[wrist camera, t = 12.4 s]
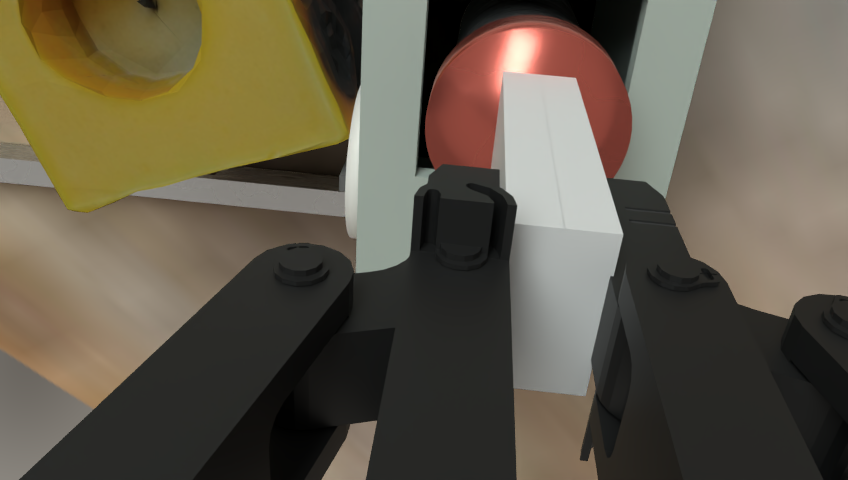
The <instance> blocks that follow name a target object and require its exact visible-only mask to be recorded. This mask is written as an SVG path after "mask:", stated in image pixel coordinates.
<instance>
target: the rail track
mask: <svg viewBox="0 0 848 480" xmlns="http://www.w3.org/2000/svg"><path fill="white" fill-rule="evenodd" d="M0 182H3V183H13V184H23V185H33V186H43V187H53V188H55V187H54V186H53V184H52V182H51V180H50V179H49V177H48V175H47V173H46V172H45V170H44V168H43V167H42V165H41V163H40V161H39V160H38V158H37V156H36V154H35V153H34V151H33V149H32V147H31V146H27V145H17V144H7V143H0ZM131 195H132V196H142V197H152V198H162V199H172V200H182V201H192V202H202V203H211V204H221V205H231V206H241V207H251V208H261V209H271V210H281V211H291V212H301V213H311V214H321V215H331V216H340V217H345V191H339V176H331V175H321V174H311V173H301V172H291V171H281V170H270V169H260V168H250V167H240V166H238V167H233V168H229V169H225V170H221V171H219V172H218V173H217V174H215V175H207V174H206V175H202V176H198V177H194V178H191V179H187V180H184V181H180V182H177V183H174V184H171V185H167V186H164V187H159V188H153V189H148V190H142V191H137V192H135V193H133V194H131Z"/></svg>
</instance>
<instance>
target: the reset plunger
mask: <svg viewBox="0 0 848 480" xmlns="http://www.w3.org/2000/svg"><path fill="white" fill-rule="evenodd" d="M503 71H507V72H518V73H528V74H539V75H550V76H561V77H571V78H576V80H577V83H578V86H579V90H580V93H581V96H582V100H583V103H584V106H585V109H586V113H587V116H588V119H589V123H590V126H591V129H592V133H593V136H594V139H595V142H596V146H597V149H598V152H599V156H600V159H601V162H602V166H603V169H604V172H605V175H606V178H614V177H615V175H616V173H617V172H618V170H619V169H620V167H621V165H622V163H623V161H624V159H625V156H626V154H627V151H628V147H629V144H630V139H631V133H632V111H631V104H630V100H629V97H628V93H627V90H626V88H625V86H624V83H623V81H622V79H621V77H620V75H619V73H618V71H617V69H616V67H615V64H614V62H613V61H612V59H611V58H610V56H609V55H608V53H607V51H606V50H605V49H604V48H603V47H602V46H601V45H600V43H599V42H598V41H597V40H595V39H594V38H593V37H592V36H591V35H590V34H588V33H587V32H585V31H584V30H582V29H581V28H580V27H579V24H578V22H577V19H576V17H575V14H574V12H573V10H572V8H571V5H570V3H569V2H568V0H471V1H470V3H469V4H468V6H467V8H466V10H465V12H464V14H463V17H462V20H461V24H460V30H459V35H458V41H457V45H456V46H455V47H454V49H453V50H452V51H451V52H450V54H449V55H448V56H447V57H446V59H445V60H444V62H443V64H442V65H441V67H440V69H439V71H438V73H437V76H436V78H435V80H434V84H433V87H432V91H431V95H430V99H429V103H428V108H427V113H426V120H425V137H426V145H427V149H428V153H429V157H430V160H431V162H432V164H433V167H434V169H435V170H436V169H437V168H439V167H440V166H441V165H442V164H448V165H459V166H469V167H479V168H489V169H491V164H492V156H493V148H494V140H495V132H496V124H497V116H498V108H499V100H500V91H501V83H502V75H503Z"/></svg>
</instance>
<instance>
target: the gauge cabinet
mask: <svg viewBox="0 0 848 480" xmlns="http://www.w3.org/2000/svg"><path fill="white" fill-rule="evenodd" d="M716 2H717V0H597V1H596V7H595V12H594V18H593V23H592V29H591V34H590V35H591V36H592V37H593V38H594V39H595V40H597V41H598V42H599V43H600V45H601V46H602V47H603V48H604V49H605V50H606V51H607V53H608V55H609V56H610V58H611V59H612V61H613V62H614V64H615V67H616V69H617V71H618V73H619V75H620V77H621V79H622V81H623V83H624V86H625V88H626V90H627V93H628V97H629V100H630V104H631V111H632V133H631V139H630V144H629V147H628V151H627V154H626V156H625V159H624V161H623V163H622V165H621V167H620V169H619V170H618V172H617V173H616V175H615V177H614V178H613V179H623V180H634V181H644V182H647V183H648V184H649V185H650V186H652V187H653V188H654V189H655V190H657V191H658V192H659V193H660V194H662V195H663V196H664V198H666V194H667V190H668V187H669V183H670V179H671V175H672V171H673V167H674V163H675V160H676V156H677V152H678V148H679V144H680V140H681V137H682V133H683V129H684V125H685V121H686V117H687V113H688V110H689V106H690V102H691V98H692V94H693V90H694V87H695V83H696V79H697V75H698V71H699V67H700V63H701V60H702V56H703V52H704V48H705V44H706V40H707V37H708V33H709V29H710V25H711V21H712V17H713V13H714V10H715V6H716ZM428 11H429V0H363V17H362V55H361V85H360V88H359V90H358V93H357V97H356V101H355V105H354V110H353V116H352V122H351V128H350V135H349V144H348V153H347V159H346V162H345V164H344V166H343V168H342V171H341V173H340V175H339V191H345V218H346V228H347V232H348V235H349V237H350V238H357V244H356V273H363V272H372V271H378V270H384V269H387V268H390V267H393V266H396V265H398V264H400V263H401V262H403V261H405V260H406V259H407V258H408V257H409V255H410V249H411V234H412V220H413V205H414V195H415V194H416V192H417V191H418V189H419V188H420V187H421V186H423V185H425V184H427V183H428V178H429V175H430V174H431V173H432V172H434V171H435V169H434V167H433V164H432V162H431V160H430V158H424V157H418V154H419V140H420V125H421V111H422V97H423V83H424V68H425V54H426V40H427V26H428Z"/></svg>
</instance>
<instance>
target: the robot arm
mask: <svg viewBox="0 0 848 480" xmlns="http://www.w3.org/2000/svg"><path fill="white" fill-rule="evenodd" d="M675 225H676V223H675V221H674V219H673V216H672V214H670V210H669V207H668V205H667V203H666V201H665V198H664V196H663V195H662V194H660V193H659V192H658V191H657V190H655V189H654V188H653V187H652V186H650V185H649V184H648V183H647V182H644V181H634V180H623V179H613V178H606V175H605V172H604V169H603V166H602V162H601V159H600V156H599V152H598V149H597V146H596V142H595V139H594V136H593V133H592V129H591V126H590V123H589V119H588V116H587V113H586V109H585V106H584V103H583V100H582V96H581V93H580V90H579V86H578V83H577V80H576V78H571V77H561V76H550V75H539V74H528V73H518V72H507V71H503V75H502V83H501V91H500V100H499V108H498V116H497V124H496V132H495V140H494V148H493V156H492V164H491V169H489V168H479V167H469V166H459V165H448V164H442V165H441V166H440V167H439V168H437V169H436V170H435V171H434V172H432V173H431V174H430V175H429V178H428V183H427V184H425V185H423V186H421V187H420V188H419V189H418V191H417V192H416V194H415V195H414V205H413V220H412V234H411V249H410V255H409V257H408V258H407V259H406V260H405V261H403V262H401V263H400V264H398V265H396V266H393V267H390V268H387V269H384V270H378V271H372V272H363V273H354V270H353V267H352V265H351V262H350V260H349V259H348V258H346V257H345V256H344V255H343V254H342V253H340V252H339V251H336V250H334V249H331V248H328V247H326V246H322V245H314V244H309V243H298V244H296V243H294V244H287V245H283V246H280V247H276V248H273V249H269V250H267V251H265V252H264V253H262V254H261V255H259V256H257V257H256V258H254V259H253V260H252V261H251V262H250V263H249V264H248V265H247V266H246V267H245V268H244V269H243V270H241V271H240V272H239V273H238V274H237V275H236V276H235V277H234V278H233V279H232V280H231V281H230V282H229V283H228V284H227V285H226V286H224V287H223V288H222V289H221V290H220V291H219V292H218V293H217V294H216V295H215V296H214V297H213V298H212V299H211V300H210V301H209V302H207V303H206V304H205V305H204V306H203V307H202V308H201V309H200V310H199V311H198V312H197V313H196V314H195V315H194V316H193V317H192V318H190V319H189V320H188V321H187V322H186V323H185V324H184V325H183V326H182V327H181V328H180V329H179V330H178V331H177V332H176V333H175V334H173V335H172V336H171V337H170V338H169V339H168V340H167V341H166V342H165V343H164V344H163V345H162V346H161V347H160V348H159V349H158V350H156V351H155V352H154V353H153V354H152V355H151V356H150V357H149V358H148V359H147V360H146V361H145V362H144V363H143V364H142V365H141V366H139V367H138V368H137V369H136V370H135V371H134V372H133V373H132V374H131V375H130V376H129V377H128V378H127V379H126V380H125V381H124V382H122V383H121V384H120V385H119V386H118V387H117V388H116V389H115V390H114V391H113V392H112V393H111V394H110V395H109V396H108V397H107V398H105V399H104V400H103V401H102V402H101V403H100V404H99V405H98V406H97V407H96V408H95V409H94V410H93V411H92V412H91V413H90V414H88V416H86V417H85V418H84V420H82V421H81V422H80V423H79V424H78V425H77V426H76V427H75V428H74V429H73V430H71V431H70V432H69V434H67V435H66V436H65V437H64V438H63V439H62V440H61V441H60V442H59V443H58V444H57V445H56V446H54V447H53V448H52V449H51V450H50V451H49V452H48V453H47V454H46V455H45V456H44V457H43V458H42V459H41V460H40V461H39V462H38V463H36V464H35V465H34V466H33V467H32V468H31V469H30V470H29V471H28V472H27V473H26V474H25V475H24V476H23V477H22V478H20V479H19V480H321V479H322V478H323V476H324V474H325V473H326V471H327V469H328V468H329V466H330V464H331V462H332V461H333V459H334V457H335V456H336V454H337V452H338V451H339V449H340V447H341V446H342V444H343V442H344V441H345V439H346V437H347V433H348V430H349V427H350V424H354V423H361V422H368V421H375V420H377V425H376V430H375V435H374V440H373V446H372V451H371V456H370V461H369V466H368V471H367V477H366V480H517V479H516V449H515V418H514V388H515V389H524V390H533V391H543V392H552V393H561V394H570V395H579V396H586V392H587V388H588V383H589V379H590V375H591V371H592V369H593V375H594V380H595V386H596V391H595V395H594V399H593V403H592V407H591V411H590V416H589V420H588V424H587V428H586V432H585V436H584V440H583V444H582V449H581V456H580V460H583V461H588V458H589V454H590V450H591V448H594V455H595V461H596V468H597V475H598V480H848V297H846V296H841V295H824V294H817V295H811V296H806V297H803V298H802V299H800V300H799V301H798V302H797V303H795V305H794V308H793V310H792V313H791V316H790V318H789V319H786V318H782V317H779V316H775V315H772V314H768V313H765V312H761V311H758V310H754V309H751V308H748V307H745V306H742V305H739V304H737V302H736V300H735V298H734V296H733V294H732V292H731V290H730V288H729V286H728V284H727V282H726V281H725V280H724V279H723V277H722V276H721V275H720V274H719V272H717V271H716V270H714V269H713V268H711V267H710V266H708V265H706V264H705V263H703V262H701V261H698V260H695V259H693V258H691V257H690V255H689V253H688V251H687V248H686V246H685V244H684V242H683V239H682V237H681V235H680V232H679V230H678V228H677V227H675Z"/></svg>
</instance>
